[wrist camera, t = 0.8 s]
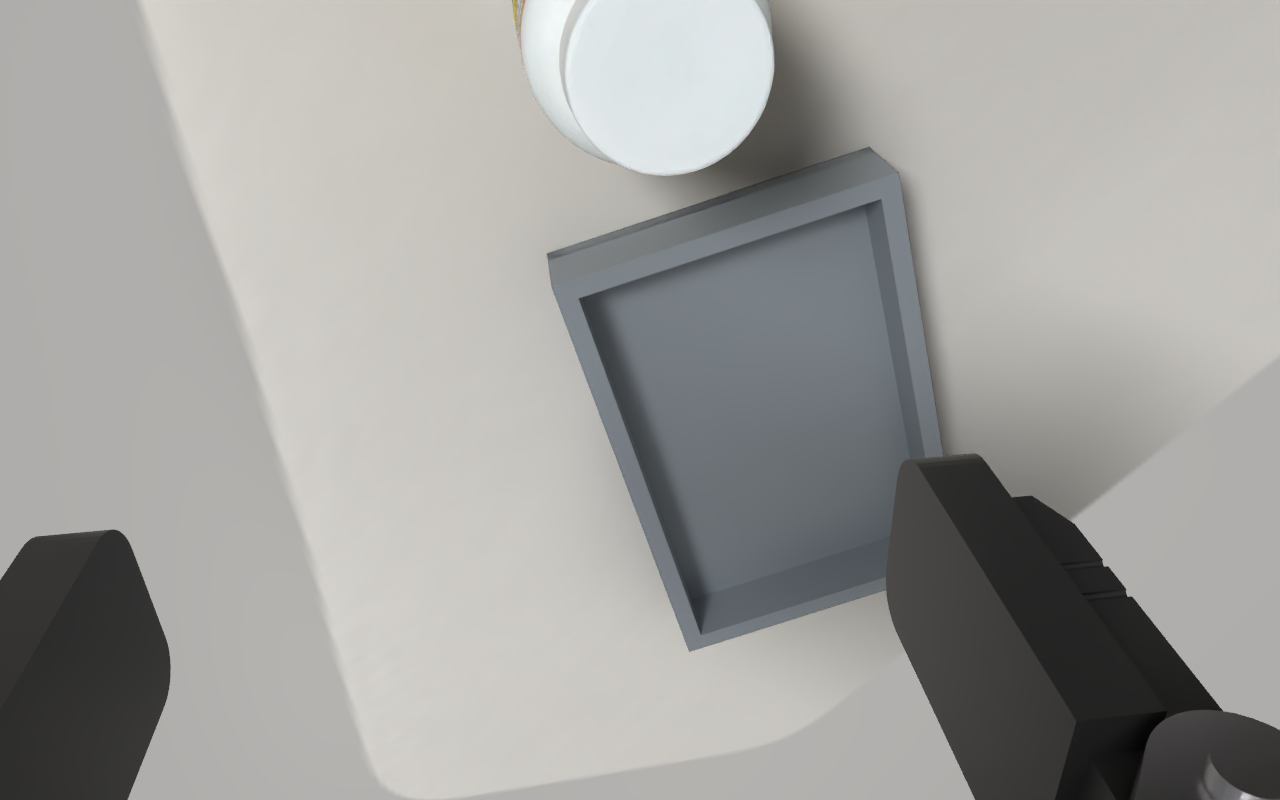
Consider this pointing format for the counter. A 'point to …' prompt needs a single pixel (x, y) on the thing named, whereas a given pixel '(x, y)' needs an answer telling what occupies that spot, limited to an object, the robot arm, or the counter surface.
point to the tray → (760, 387)
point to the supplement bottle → (649, 76)
